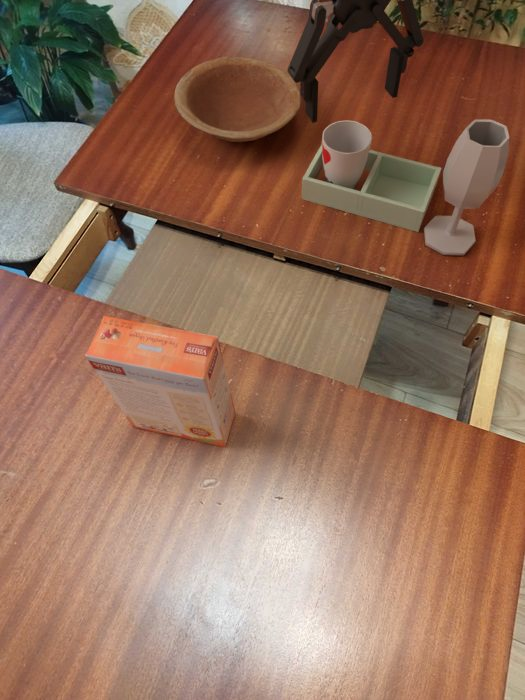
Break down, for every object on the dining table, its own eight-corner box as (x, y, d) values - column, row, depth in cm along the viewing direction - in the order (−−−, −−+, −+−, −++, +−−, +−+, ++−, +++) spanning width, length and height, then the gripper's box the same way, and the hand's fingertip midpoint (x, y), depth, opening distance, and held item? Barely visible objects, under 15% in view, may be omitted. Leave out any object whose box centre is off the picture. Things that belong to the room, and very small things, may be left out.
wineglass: (429, 212, 95) (462, 106, 76) (479, 225, 93) (526, 119, 74) (416, 249, 91) (447, 146, 72) (468, 263, 89) (514, 161, 71)
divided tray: (435, 188, 97) (441, 167, 93) (418, 232, 92) (424, 212, 88) (323, 159, 102) (324, 138, 98) (301, 199, 98) (302, 178, 93)
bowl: (262, 183, 100) (260, 148, 93) (158, 144, 107) (149, 108, 100) (320, 109, 110) (322, 72, 103) (221, 77, 116) (217, 40, 109)
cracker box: (237, 410, 78) (220, 334, 60) (225, 449, 75) (204, 382, 57) (145, 390, 80) (103, 311, 62) (131, 427, 77) (82, 356, 59)
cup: (321, 165, 100) (324, 119, 91) (365, 168, 99) (373, 121, 91) (317, 197, 96) (320, 152, 88) (363, 200, 95) (370, 155, 87)
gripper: (441, -88, 69) (411, 69, 88) (259, -41, 66) (267, 112, 84) (473, -62, 66) (435, 96, 84) (283, -11, 62) (286, 142, 81)
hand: (351, 104), depth 84 cm, fingers open, 13 cm apart
